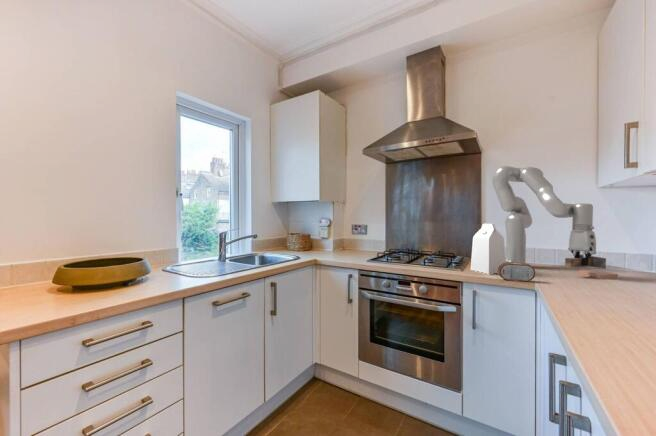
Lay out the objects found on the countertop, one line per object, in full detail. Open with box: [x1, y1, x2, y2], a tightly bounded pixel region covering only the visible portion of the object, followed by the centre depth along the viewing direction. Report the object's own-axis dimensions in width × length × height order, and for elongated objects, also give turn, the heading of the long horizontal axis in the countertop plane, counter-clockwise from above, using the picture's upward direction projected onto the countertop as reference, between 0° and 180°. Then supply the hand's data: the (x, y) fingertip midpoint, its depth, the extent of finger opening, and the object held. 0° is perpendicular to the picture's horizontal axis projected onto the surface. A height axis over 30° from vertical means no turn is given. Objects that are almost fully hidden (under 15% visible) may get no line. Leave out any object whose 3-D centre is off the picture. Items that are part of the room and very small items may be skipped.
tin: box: [497, 262, 536, 282], centre depth 133 cm, size 15×3×8 cm, turn 74°
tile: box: [578, 269, 619, 279], centre depth 143 cm, size 2×10×10 cm
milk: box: [470, 222, 506, 275], centre depth 153 cm, size 12×12×26 cm
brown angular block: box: [564, 253, 607, 270], centre depth 142 cm, size 14×12×5 cm
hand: (581, 264), depth 142 cm, fingers closed on brown angular block, 3 cm apart
